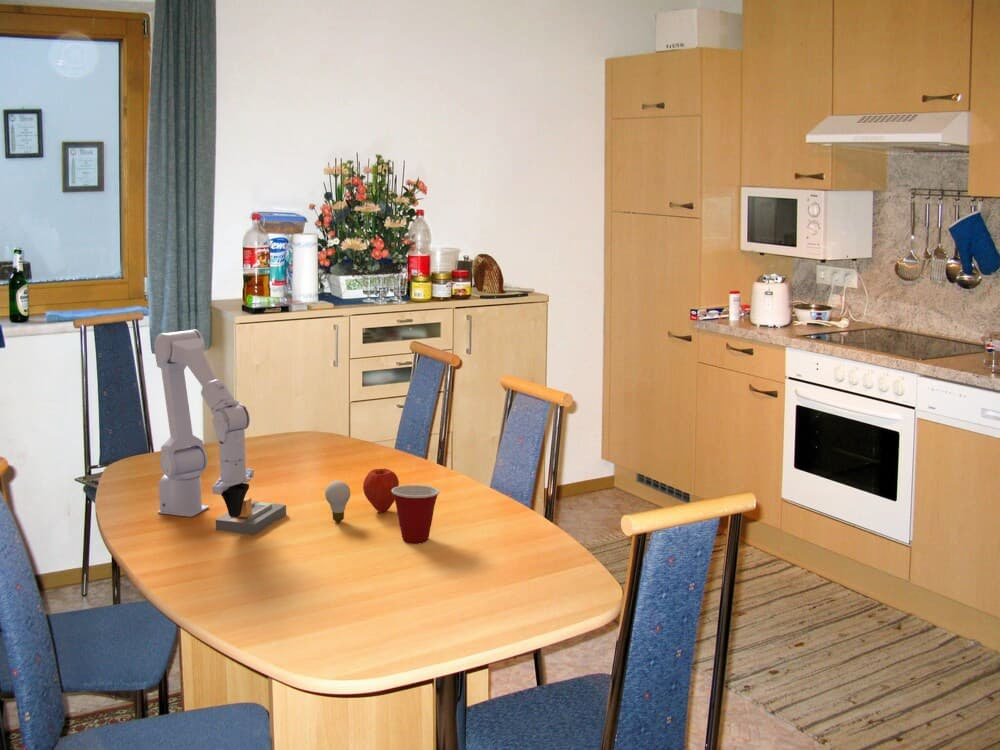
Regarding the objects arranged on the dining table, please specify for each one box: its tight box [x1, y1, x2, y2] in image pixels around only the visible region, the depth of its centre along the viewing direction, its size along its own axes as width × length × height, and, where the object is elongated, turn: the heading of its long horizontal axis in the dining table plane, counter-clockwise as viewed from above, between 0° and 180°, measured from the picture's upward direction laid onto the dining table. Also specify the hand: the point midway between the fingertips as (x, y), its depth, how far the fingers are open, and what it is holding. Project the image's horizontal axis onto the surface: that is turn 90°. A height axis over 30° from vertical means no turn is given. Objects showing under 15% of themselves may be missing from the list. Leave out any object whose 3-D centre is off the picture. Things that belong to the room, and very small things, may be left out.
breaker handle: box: [239, 496, 253, 517], centre depth 258 cm, size 3×2×4 cm
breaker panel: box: [215, 500, 287, 536], centre depth 262 cm, size 10×15×3 cm, turn 162°
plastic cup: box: [391, 484, 441, 545], centre depth 251 cm, size 11×11×12 cm
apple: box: [362, 468, 400, 513], centre depth 270 cm, size 9×8×11 cm
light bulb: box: [324, 480, 351, 523], centre depth 262 cm, size 6×6×10 cm
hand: (234, 515), depth 255 cm, fingers closed
